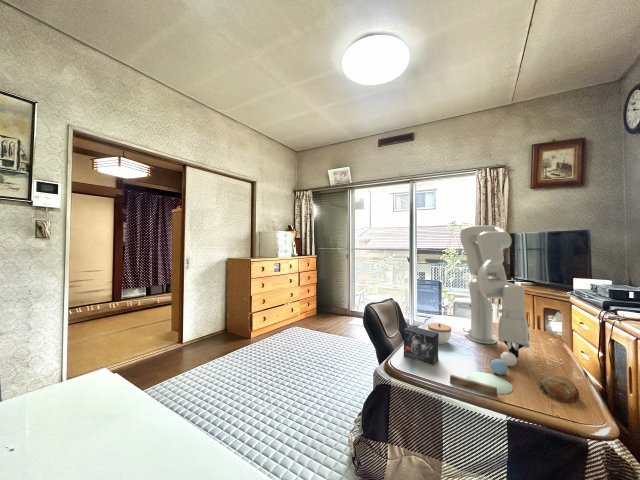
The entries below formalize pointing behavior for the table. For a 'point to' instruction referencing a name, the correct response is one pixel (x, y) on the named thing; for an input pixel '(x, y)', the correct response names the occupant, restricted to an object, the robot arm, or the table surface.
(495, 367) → the blue ball
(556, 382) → the bread roll
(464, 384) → the walnut rail
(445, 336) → the lidded jar
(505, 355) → the cue ball
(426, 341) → the small box
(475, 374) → the mint mark
